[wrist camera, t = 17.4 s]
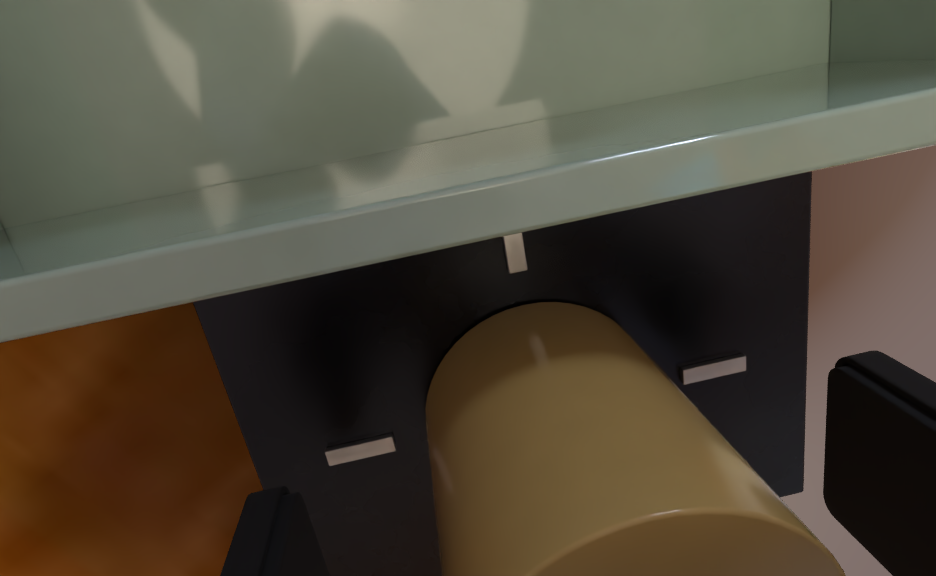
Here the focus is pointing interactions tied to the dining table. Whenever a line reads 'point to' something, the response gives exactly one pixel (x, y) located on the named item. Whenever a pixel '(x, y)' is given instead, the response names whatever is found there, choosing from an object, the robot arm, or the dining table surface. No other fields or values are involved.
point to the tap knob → (592, 462)
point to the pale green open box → (404, 128)
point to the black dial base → (488, 293)
